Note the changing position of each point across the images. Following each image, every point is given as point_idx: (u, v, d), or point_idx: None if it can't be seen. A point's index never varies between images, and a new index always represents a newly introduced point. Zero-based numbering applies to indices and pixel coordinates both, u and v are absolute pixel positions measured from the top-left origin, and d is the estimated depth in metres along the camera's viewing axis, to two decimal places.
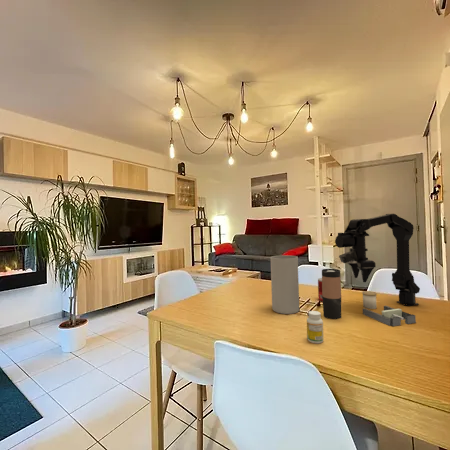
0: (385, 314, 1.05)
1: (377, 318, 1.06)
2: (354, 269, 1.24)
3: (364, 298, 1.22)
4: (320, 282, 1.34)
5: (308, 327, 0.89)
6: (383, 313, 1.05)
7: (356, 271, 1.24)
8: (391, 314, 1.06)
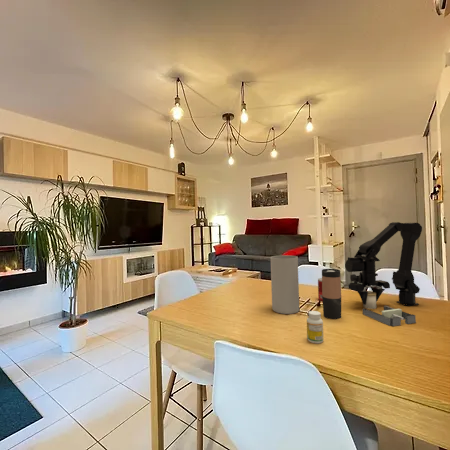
0: (385, 314, 1.05)
1: (377, 318, 1.06)
2: None
3: None
4: (320, 282, 1.34)
5: (308, 327, 0.89)
6: (383, 313, 1.05)
7: None
8: (391, 314, 1.06)
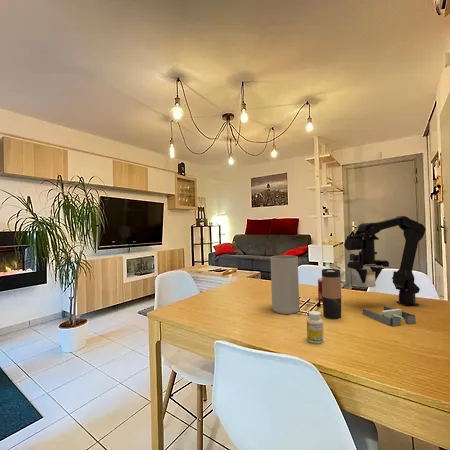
0: (385, 314, 1.05)
1: (377, 318, 1.06)
2: None
3: None
4: (320, 282, 1.34)
5: (308, 327, 0.89)
6: (383, 313, 1.05)
7: None
8: (391, 314, 1.06)
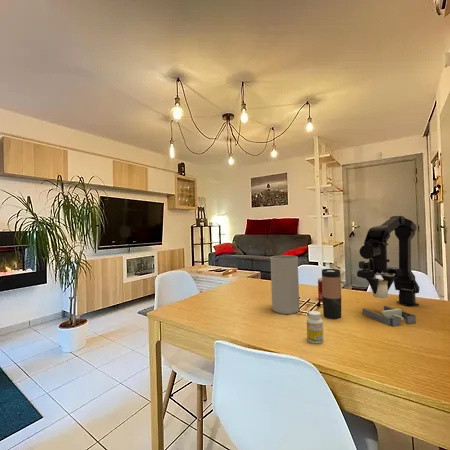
0: (385, 314, 1.05)
1: (377, 318, 1.06)
2: None
3: None
4: (320, 282, 1.34)
5: (308, 327, 0.89)
6: (383, 313, 1.05)
7: None
8: (391, 314, 1.06)
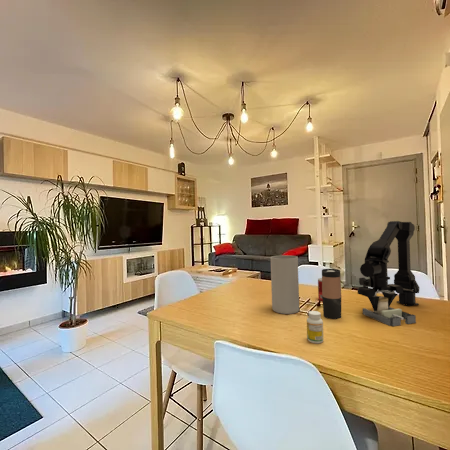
0: (385, 314, 1.05)
1: (377, 318, 1.06)
2: None
3: None
4: (320, 282, 1.34)
5: (308, 327, 0.89)
6: (383, 313, 1.05)
7: None
8: (391, 314, 1.06)
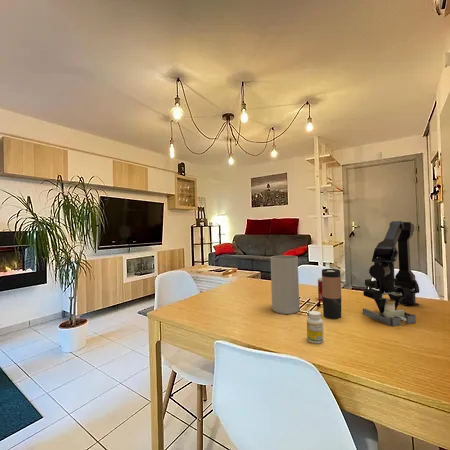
0: (388, 315, 1.04)
1: (377, 318, 1.06)
2: None
3: None
4: (320, 282, 1.34)
5: (308, 327, 0.89)
6: (385, 314, 1.04)
7: None
8: (394, 315, 1.04)
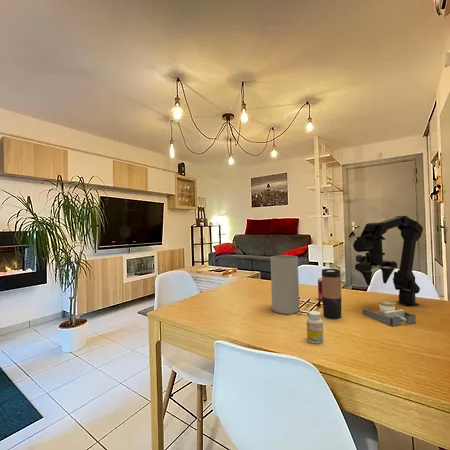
0: (388, 315, 1.04)
1: (377, 318, 1.06)
2: (383, 274, 1.20)
3: (381, 308, 1.08)
4: (320, 282, 1.34)
5: (308, 327, 0.89)
6: (385, 314, 1.04)
7: (385, 276, 1.19)
8: (394, 315, 1.04)
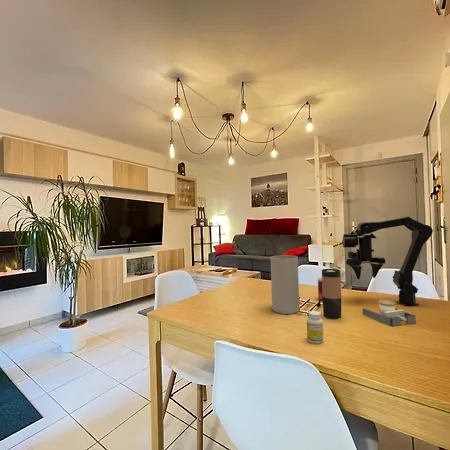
0: (388, 315, 1.04)
1: (377, 318, 1.06)
2: (373, 269, 1.31)
3: (381, 308, 1.08)
4: (320, 282, 1.34)
5: (308, 327, 0.89)
6: (385, 314, 1.04)
7: (374, 271, 1.30)
8: (394, 315, 1.04)
